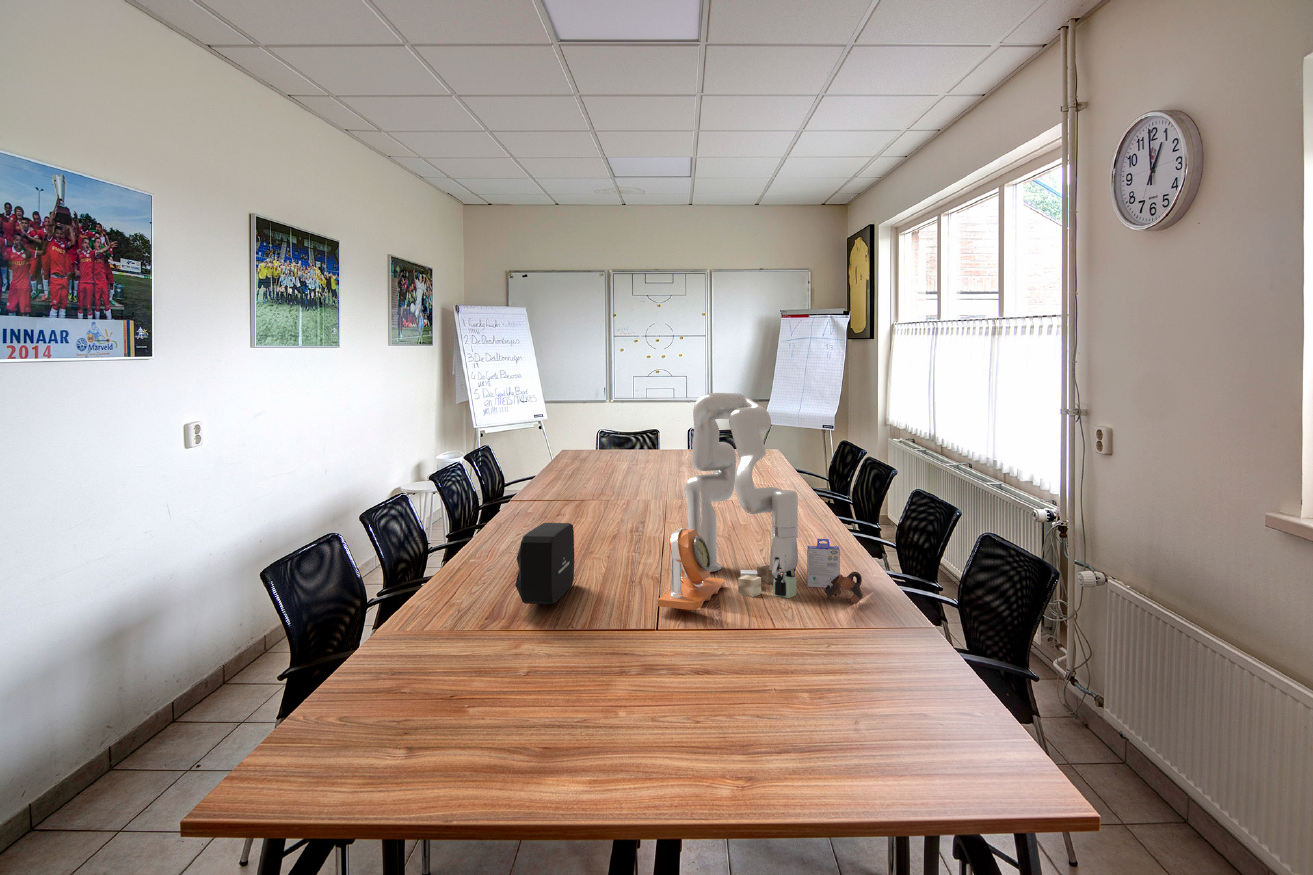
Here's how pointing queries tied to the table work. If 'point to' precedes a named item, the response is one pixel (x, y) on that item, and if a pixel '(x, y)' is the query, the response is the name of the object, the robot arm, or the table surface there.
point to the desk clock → (690, 572)
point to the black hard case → (546, 563)
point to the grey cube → (749, 573)
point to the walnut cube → (765, 574)
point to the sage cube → (787, 587)
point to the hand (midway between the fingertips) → (784, 592)
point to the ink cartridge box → (822, 564)
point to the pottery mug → (845, 586)
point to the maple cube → (749, 586)
